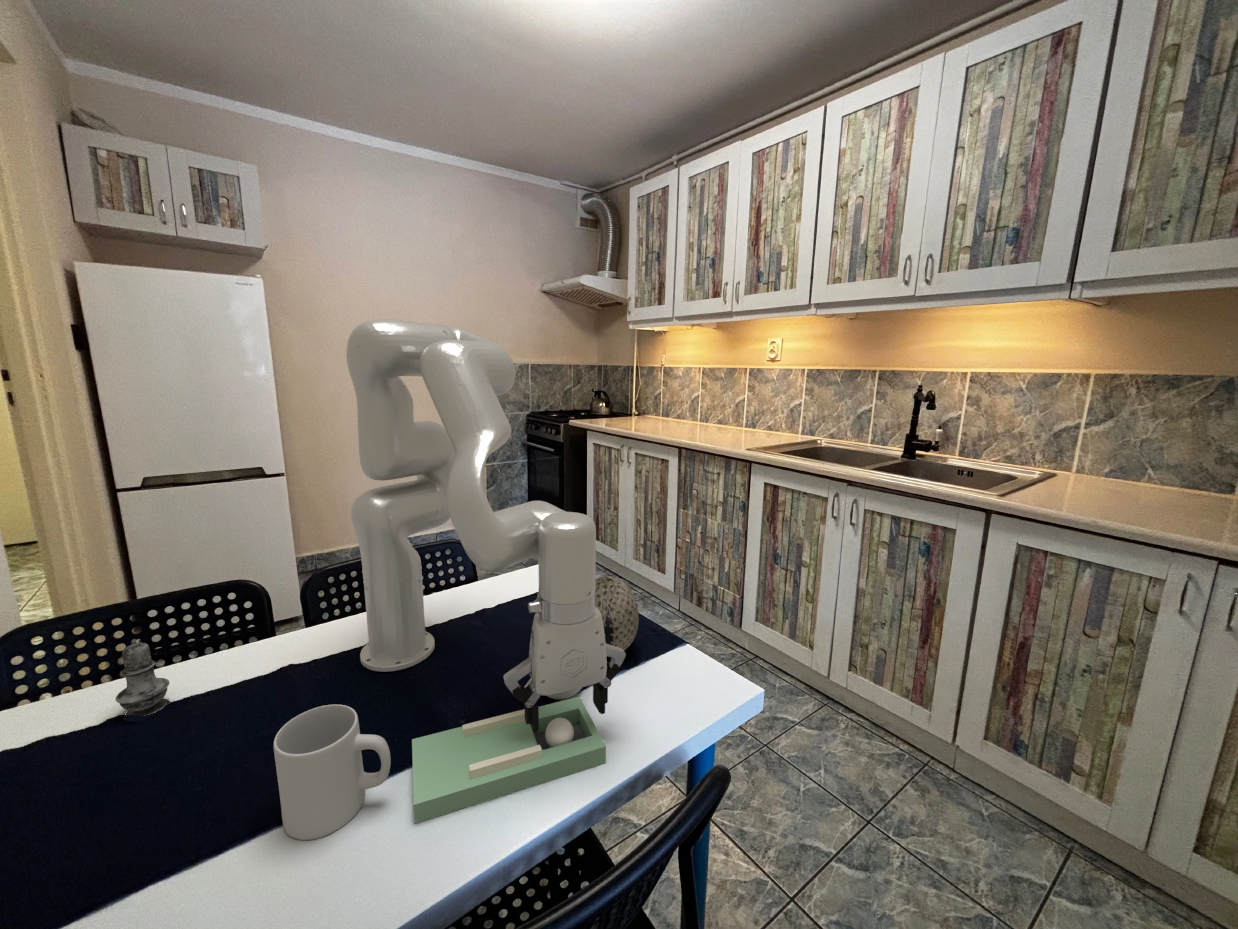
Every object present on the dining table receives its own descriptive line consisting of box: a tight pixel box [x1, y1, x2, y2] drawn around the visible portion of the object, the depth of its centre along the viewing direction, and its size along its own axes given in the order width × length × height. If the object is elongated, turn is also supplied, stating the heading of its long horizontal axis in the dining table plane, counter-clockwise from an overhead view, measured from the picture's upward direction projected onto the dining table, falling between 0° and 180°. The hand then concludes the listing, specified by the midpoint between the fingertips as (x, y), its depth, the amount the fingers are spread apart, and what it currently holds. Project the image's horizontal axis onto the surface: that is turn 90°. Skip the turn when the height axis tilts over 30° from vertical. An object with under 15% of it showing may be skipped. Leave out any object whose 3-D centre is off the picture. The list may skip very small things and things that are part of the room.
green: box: [411, 696, 607, 825], centre depth 66 cm, size 11×24×4 cm, turn 113°
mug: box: [273, 704, 392, 841], centre depth 58 cm, size 12×8×11 cm
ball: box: [545, 718, 574, 748], centre depth 69 cm, size 4×4×4 cm
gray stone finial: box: [115, 638, 171, 717], centre depth 73 cm, size 6×6×12 cm
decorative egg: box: [595, 575, 640, 658], centre depth 91 cm, size 12×12×15 cm
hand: (567, 716), depth 69 cm, fingers open, 9 cm apart
